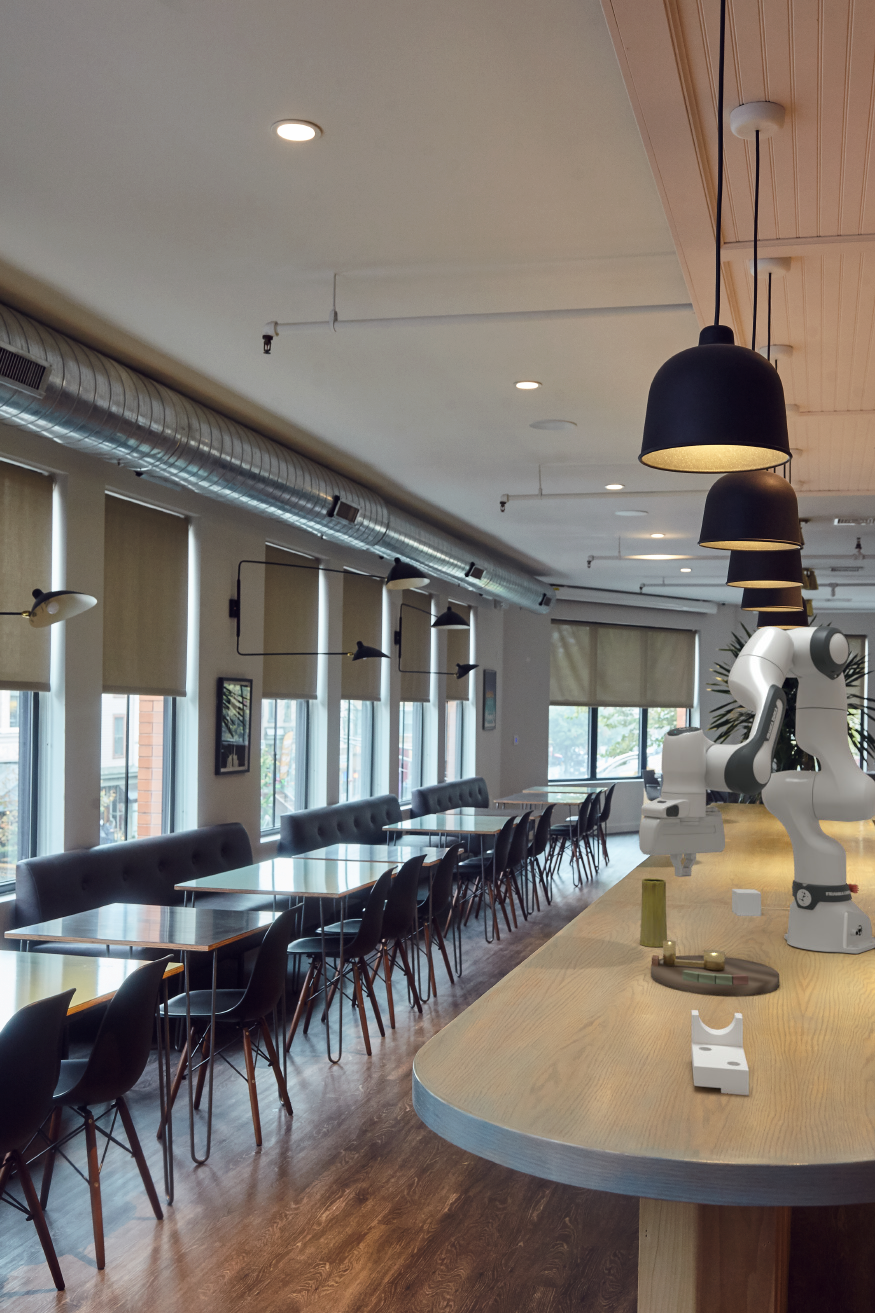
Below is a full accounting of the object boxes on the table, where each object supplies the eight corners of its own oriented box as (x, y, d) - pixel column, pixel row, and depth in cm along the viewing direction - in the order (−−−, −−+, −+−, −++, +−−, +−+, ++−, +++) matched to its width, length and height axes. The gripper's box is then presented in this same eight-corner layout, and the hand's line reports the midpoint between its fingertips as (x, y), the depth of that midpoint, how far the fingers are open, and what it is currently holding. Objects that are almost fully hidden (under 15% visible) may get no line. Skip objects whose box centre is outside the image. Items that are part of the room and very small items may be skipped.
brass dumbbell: (725, 966, 204) (725, 943, 205) (724, 971, 201) (724, 947, 201) (661, 961, 208) (661, 938, 208) (659, 965, 204) (659, 942, 204)
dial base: (709, 960, 219) (709, 943, 220) (806, 985, 200) (806, 966, 200) (625, 974, 206) (625, 956, 206) (720, 1002, 186) (720, 982, 186)
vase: (667, 948, 231) (667, 882, 231) (639, 946, 232) (639, 881, 233) (667, 942, 237) (667, 878, 237) (639, 941, 238) (640, 877, 239)
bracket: (691, 1062, 154) (691, 1010, 155) (741, 1066, 153) (741, 1013, 153) (694, 1093, 142) (694, 1036, 142) (748, 1097, 140) (748, 1040, 141)
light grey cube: (732, 912, 277) (732, 889, 277) (755, 912, 277) (754, 889, 277) (737, 916, 271) (737, 892, 271) (761, 916, 271) (761, 893, 271)
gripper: (710, 805, 220) (709, 871, 219) (634, 806, 210) (634, 876, 209) (732, 807, 215) (732, 875, 214) (656, 809, 204) (655, 881, 204)
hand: (683, 876), depth 211 cm, fingers closed
